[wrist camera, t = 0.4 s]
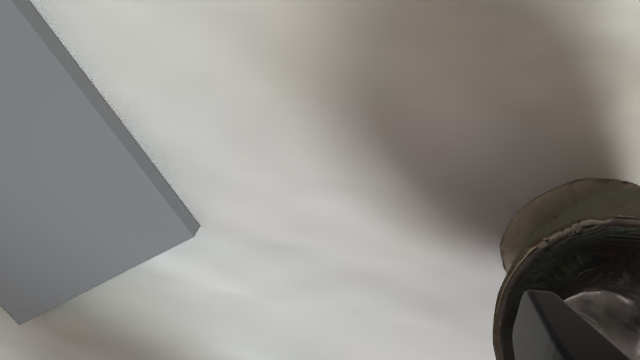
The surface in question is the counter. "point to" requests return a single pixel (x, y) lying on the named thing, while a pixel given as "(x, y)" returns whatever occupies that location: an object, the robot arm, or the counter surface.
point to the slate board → (69, 177)
